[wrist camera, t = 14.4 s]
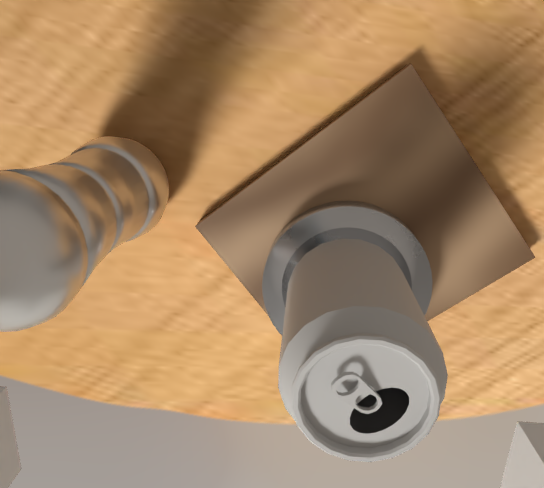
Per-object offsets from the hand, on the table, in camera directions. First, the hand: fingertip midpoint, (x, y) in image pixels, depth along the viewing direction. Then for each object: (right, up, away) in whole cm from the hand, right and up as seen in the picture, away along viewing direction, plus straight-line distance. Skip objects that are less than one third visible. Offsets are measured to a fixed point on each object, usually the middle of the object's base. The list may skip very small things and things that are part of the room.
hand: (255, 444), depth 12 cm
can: (+5, +2, +19) cm, 20 cm away
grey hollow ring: (+5, +3, +20) cm, 21 cm away
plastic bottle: (-9, +10, +21) cm, 25 cm away
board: (+7, +6, +21) cm, 22 cm away
